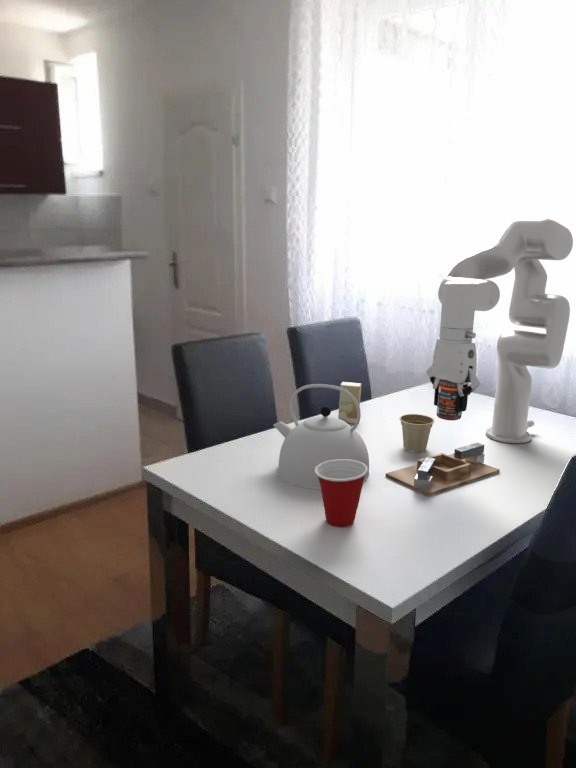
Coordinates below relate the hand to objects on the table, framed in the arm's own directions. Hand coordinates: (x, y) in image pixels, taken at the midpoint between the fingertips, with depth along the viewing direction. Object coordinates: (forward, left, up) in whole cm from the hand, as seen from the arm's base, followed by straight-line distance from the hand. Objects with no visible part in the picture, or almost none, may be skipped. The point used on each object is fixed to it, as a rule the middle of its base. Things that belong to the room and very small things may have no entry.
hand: (449, 407), depth 151 cm
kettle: (+25, -19, -18) cm, 36 cm away
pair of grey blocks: (0, +2, -17) cm, 17 cm away
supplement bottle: (0, 0, -3) cm, 3 cm away
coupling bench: (0, 0, -17) cm, 17 cm away
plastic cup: (+38, +5, -18) cm, 42 cm away
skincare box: (-9, -46, -18) cm, 50 cm away
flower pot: (-8, -17, -18) cm, 26 cm away
